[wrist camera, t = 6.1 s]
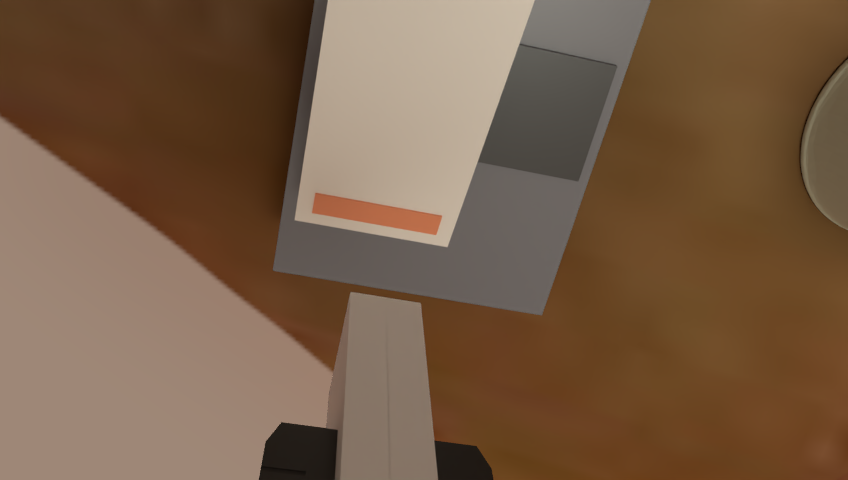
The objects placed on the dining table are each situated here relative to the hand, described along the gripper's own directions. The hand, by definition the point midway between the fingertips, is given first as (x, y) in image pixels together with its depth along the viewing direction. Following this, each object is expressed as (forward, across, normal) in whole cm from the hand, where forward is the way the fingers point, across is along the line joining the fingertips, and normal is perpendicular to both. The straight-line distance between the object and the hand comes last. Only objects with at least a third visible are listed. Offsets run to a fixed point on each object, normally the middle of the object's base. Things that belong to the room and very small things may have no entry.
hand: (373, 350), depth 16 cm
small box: (+8, 0, +3) cm, 8 cm away
